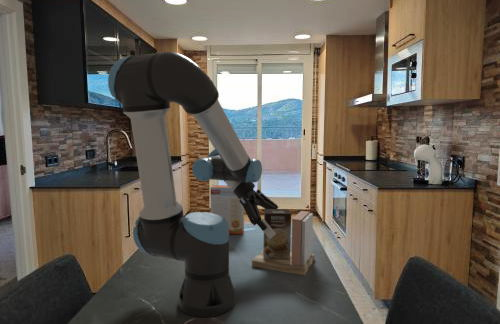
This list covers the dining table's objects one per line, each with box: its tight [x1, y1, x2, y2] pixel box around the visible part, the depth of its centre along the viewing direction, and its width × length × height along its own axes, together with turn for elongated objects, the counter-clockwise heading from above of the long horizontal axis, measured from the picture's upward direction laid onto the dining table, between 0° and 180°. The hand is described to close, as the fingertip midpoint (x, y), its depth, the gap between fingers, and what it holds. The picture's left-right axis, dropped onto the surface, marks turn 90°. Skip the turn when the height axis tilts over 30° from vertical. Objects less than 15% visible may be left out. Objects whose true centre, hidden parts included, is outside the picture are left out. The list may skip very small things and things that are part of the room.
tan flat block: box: [291, 210, 310, 265], centre depth 113 cm, size 11×3×15 cm, turn 157°
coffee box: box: [262, 208, 292, 260], centre depth 116 cm, size 9×6×16 cm
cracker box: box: [209, 184, 245, 235], centre depth 148 cm, size 14×6×21 cm, turn 84°
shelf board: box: [251, 249, 315, 276], centre depth 116 cm, size 14×18×2 cm
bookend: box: [292, 212, 314, 267], centre depth 112 cm, size 11×4×15 cm, turn 157°
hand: (279, 230), depth 116 cm, fingers open, 13 cm apart
